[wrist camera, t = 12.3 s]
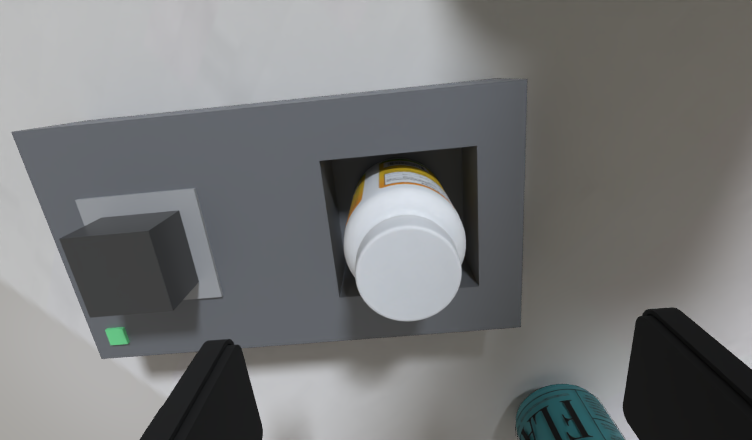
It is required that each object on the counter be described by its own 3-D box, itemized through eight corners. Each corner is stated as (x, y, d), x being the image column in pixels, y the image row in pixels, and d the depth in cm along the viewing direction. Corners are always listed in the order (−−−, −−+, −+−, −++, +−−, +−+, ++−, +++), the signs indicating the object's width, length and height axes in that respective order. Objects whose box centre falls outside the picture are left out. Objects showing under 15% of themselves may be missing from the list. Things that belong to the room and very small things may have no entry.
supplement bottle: (385, 258, 25) (387, 360, 16) (335, 189, 24) (306, 258, 15) (459, 213, 24) (508, 295, 15) (412, 138, 23) (433, 178, 14)
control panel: (496, 78, 23) (554, 79, 15) (496, 283, 27) (541, 363, 19) (85, 120, 24) (-54, 141, 16) (148, 311, 28) (62, 397, 20)
